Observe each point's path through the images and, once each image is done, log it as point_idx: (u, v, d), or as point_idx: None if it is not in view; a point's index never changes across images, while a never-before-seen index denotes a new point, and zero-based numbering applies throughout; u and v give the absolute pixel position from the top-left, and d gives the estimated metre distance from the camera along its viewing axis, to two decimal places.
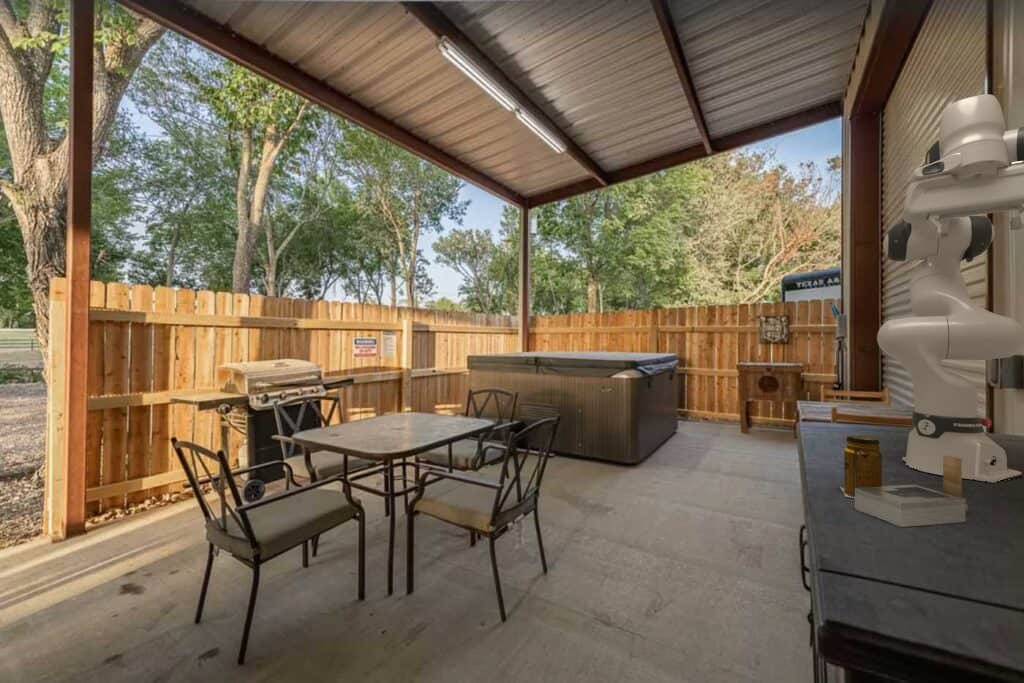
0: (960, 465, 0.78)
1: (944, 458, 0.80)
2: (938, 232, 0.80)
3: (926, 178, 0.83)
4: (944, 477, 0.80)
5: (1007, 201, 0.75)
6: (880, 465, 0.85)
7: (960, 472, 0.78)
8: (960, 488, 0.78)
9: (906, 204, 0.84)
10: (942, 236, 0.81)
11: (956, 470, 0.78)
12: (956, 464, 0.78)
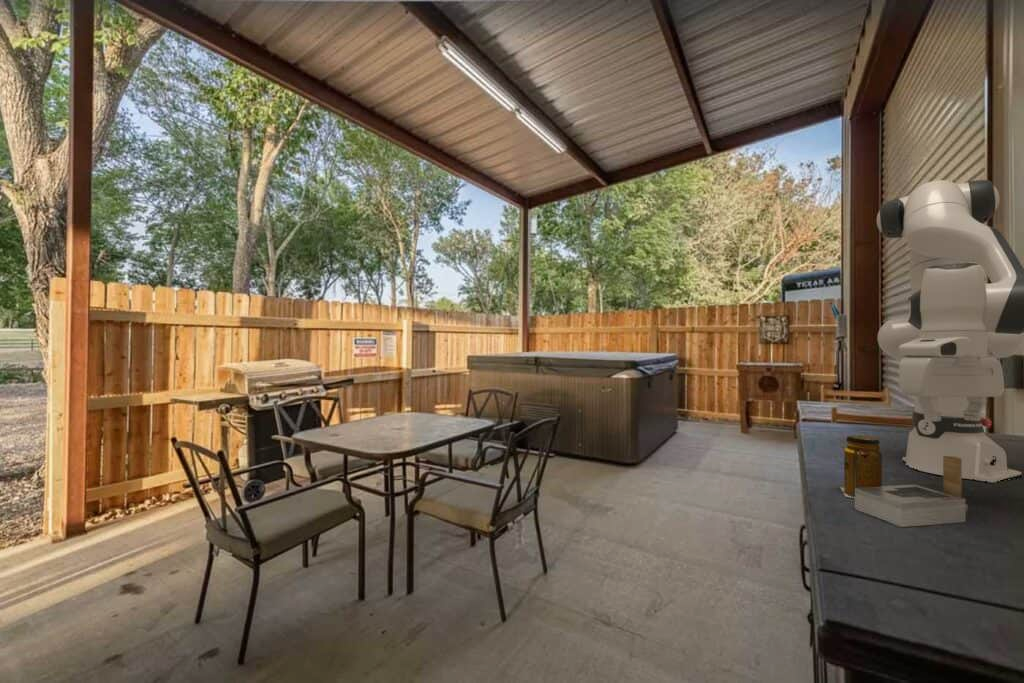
0: (960, 465, 0.78)
1: (944, 458, 0.80)
2: (935, 419, 0.78)
3: (940, 357, 0.76)
4: (944, 477, 0.80)
5: (977, 396, 0.79)
6: (880, 465, 0.85)
7: (960, 472, 0.78)
8: (960, 488, 0.78)
9: (923, 384, 0.76)
10: None
11: (956, 470, 0.78)
12: (956, 464, 0.78)
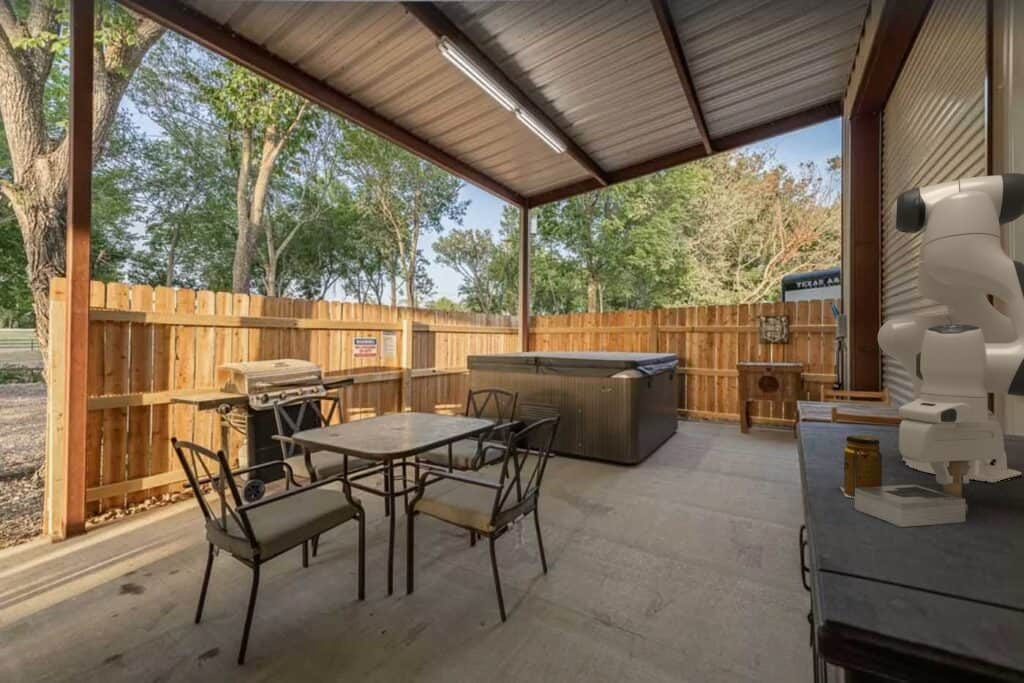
0: (960, 465, 0.78)
1: None
2: (947, 483, 0.78)
3: (940, 424, 0.76)
4: None
5: (977, 459, 0.79)
6: (880, 465, 0.85)
7: (960, 472, 0.78)
8: (960, 488, 0.78)
9: (923, 450, 0.76)
10: None
11: (956, 470, 0.78)
12: (956, 464, 0.78)
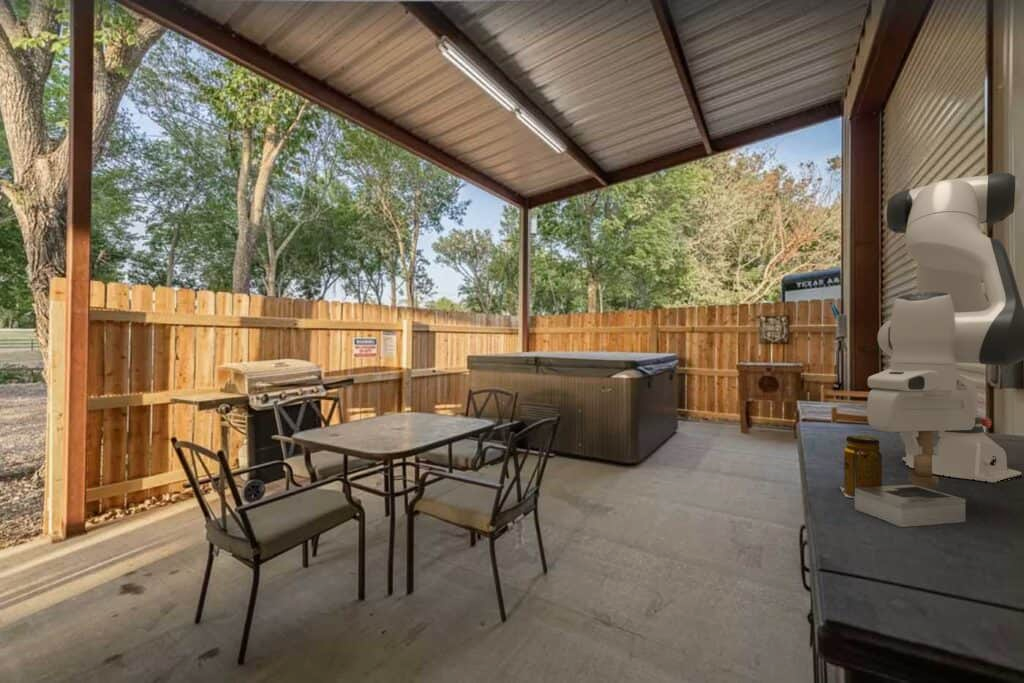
0: (930, 436, 0.76)
1: None
2: (916, 453, 0.76)
3: (908, 392, 0.74)
4: None
5: (947, 430, 0.77)
6: (880, 465, 0.85)
7: (930, 443, 0.76)
8: (930, 460, 0.76)
9: (890, 419, 0.74)
10: None
11: (926, 441, 0.76)
12: (926, 435, 0.76)
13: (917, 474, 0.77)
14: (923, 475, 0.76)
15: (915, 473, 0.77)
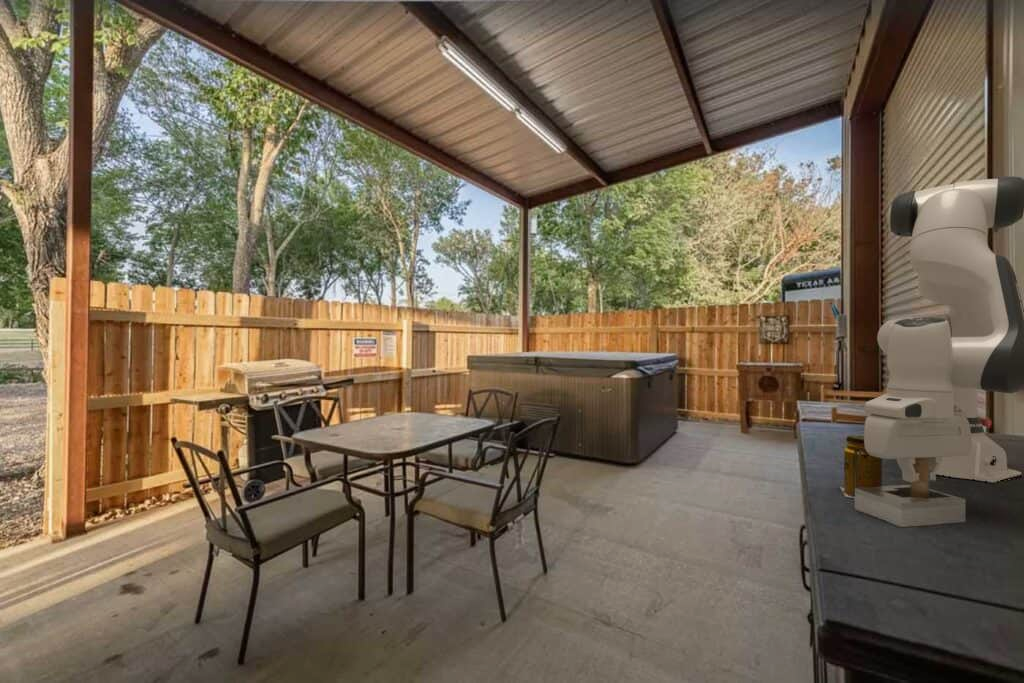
0: (927, 463, 0.76)
1: None
2: (913, 480, 0.76)
3: (905, 419, 0.74)
4: None
5: (943, 456, 0.77)
6: (880, 465, 0.85)
7: (927, 470, 0.76)
8: (927, 486, 0.76)
9: (887, 447, 0.74)
10: None
11: (923, 468, 0.76)
12: (923, 462, 0.76)
13: None
14: None
15: None
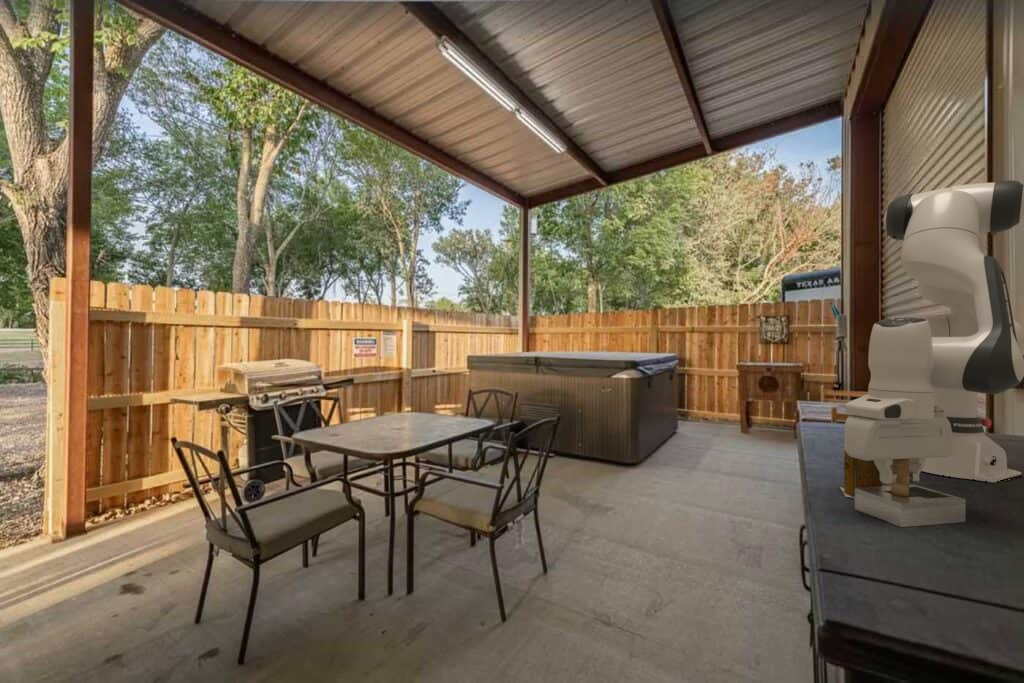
0: (907, 466, 0.75)
1: (892, 459, 0.77)
2: (890, 482, 0.75)
3: (884, 420, 0.73)
4: None
5: (924, 457, 0.76)
6: None
7: (907, 473, 0.75)
8: (907, 490, 0.75)
9: (866, 448, 0.73)
10: None
11: (903, 471, 0.75)
12: (903, 465, 0.75)
13: None
14: None
15: None
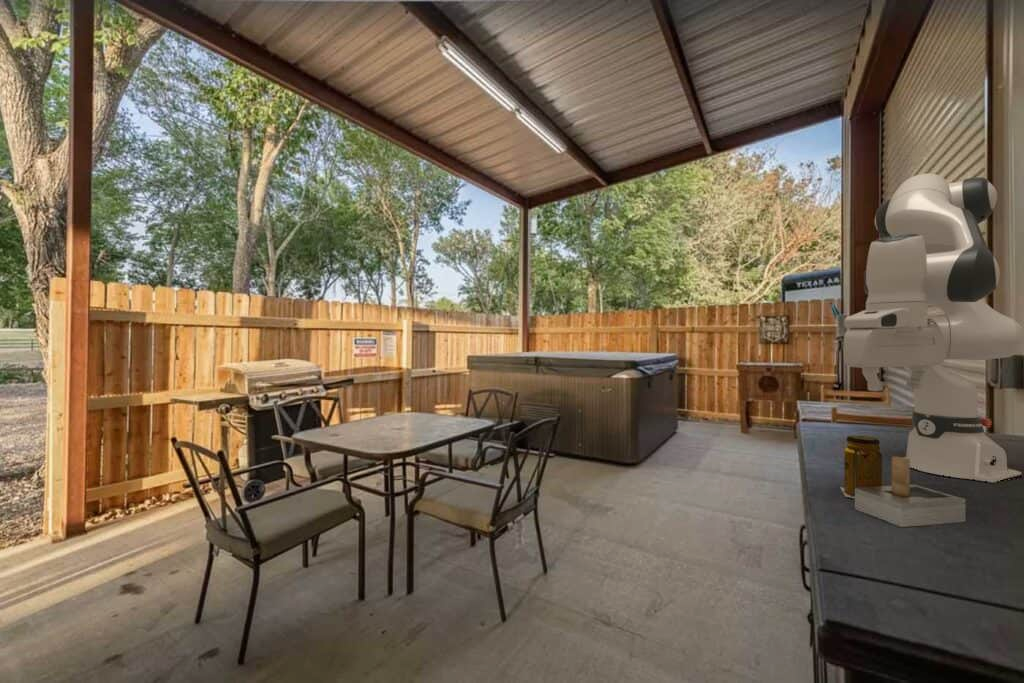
0: (908, 466, 0.75)
1: (892, 459, 0.77)
2: (877, 389, 0.80)
3: (881, 329, 0.78)
4: (892, 478, 0.77)
5: (918, 365, 0.81)
6: (880, 465, 0.85)
7: (907, 473, 0.75)
8: (908, 490, 0.75)
9: (864, 355, 0.78)
10: None
11: (904, 471, 0.75)
12: (904, 465, 0.75)
13: None
14: None
15: None
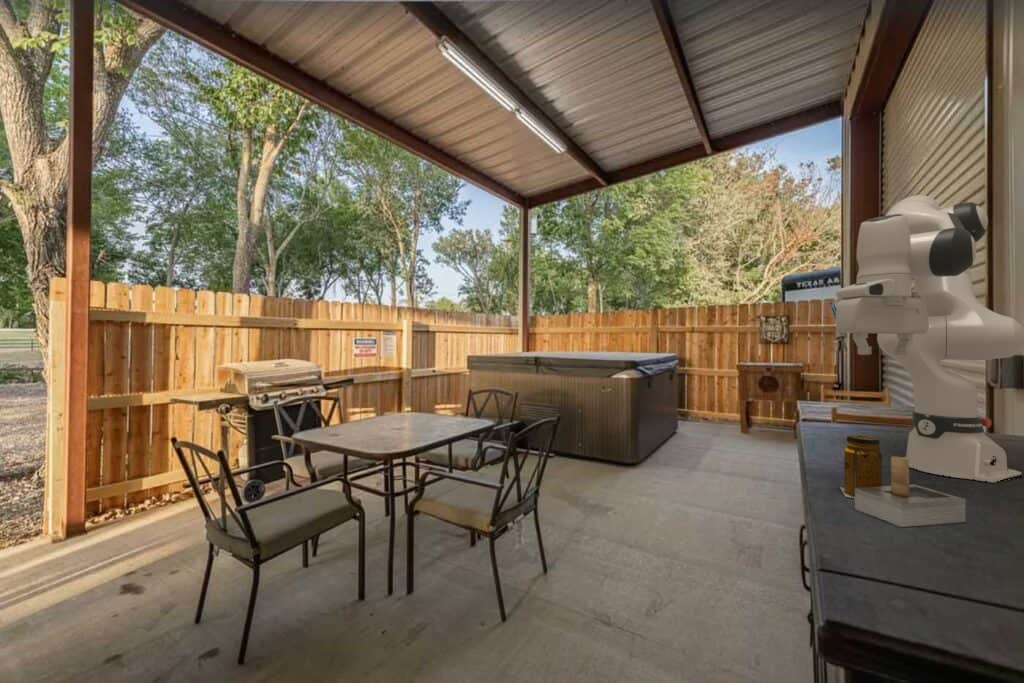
0: (907, 466, 0.76)
1: (891, 459, 0.77)
2: (866, 352, 0.88)
3: (869, 297, 0.86)
4: (892, 478, 0.77)
5: (904, 332, 0.89)
6: (880, 465, 0.85)
7: (907, 473, 0.75)
8: (907, 490, 0.75)
9: (854, 320, 0.87)
10: None
11: (903, 471, 0.75)
12: (903, 465, 0.76)
13: None
14: None
15: None
